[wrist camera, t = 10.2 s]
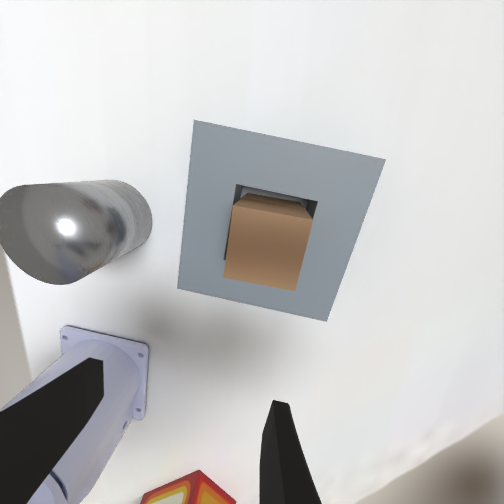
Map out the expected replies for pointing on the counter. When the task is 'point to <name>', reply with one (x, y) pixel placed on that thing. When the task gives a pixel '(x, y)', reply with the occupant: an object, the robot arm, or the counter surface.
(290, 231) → the square peg
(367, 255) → the counter surface
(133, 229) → the round peg
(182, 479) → the baking soda box
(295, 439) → the robot arm
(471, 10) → the counter surface
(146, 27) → the counter surface
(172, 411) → the counter surface
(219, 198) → the socket block
